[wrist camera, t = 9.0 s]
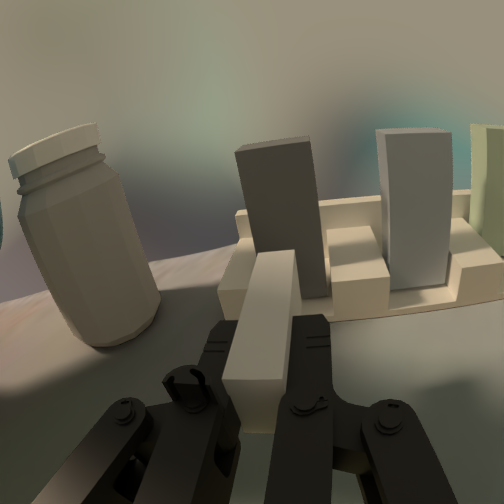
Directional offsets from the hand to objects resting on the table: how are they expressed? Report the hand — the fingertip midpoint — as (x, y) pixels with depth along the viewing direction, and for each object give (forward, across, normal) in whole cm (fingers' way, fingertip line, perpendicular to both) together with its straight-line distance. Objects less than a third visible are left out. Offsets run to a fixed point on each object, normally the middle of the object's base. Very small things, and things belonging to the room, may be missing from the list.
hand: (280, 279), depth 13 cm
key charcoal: (+11, -1, -8) cm, 13 cm away
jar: (+9, -18, -9) cm, 22 cm away
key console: (+12, +10, -9) cm, 18 cm away
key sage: (+14, +19, -8) cm, 25 cm away
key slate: (+11, +9, -8) cm, 16 cm away
